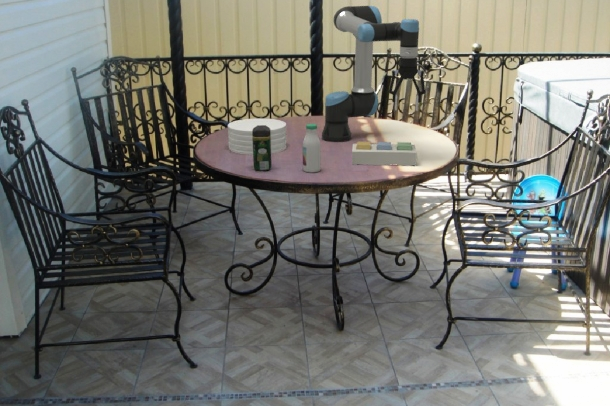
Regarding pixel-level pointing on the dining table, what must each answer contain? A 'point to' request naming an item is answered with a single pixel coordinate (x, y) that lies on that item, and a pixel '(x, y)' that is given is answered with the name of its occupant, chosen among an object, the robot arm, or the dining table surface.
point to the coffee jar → (261, 148)
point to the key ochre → (364, 145)
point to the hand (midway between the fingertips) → (406, 109)
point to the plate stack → (242, 135)
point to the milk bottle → (311, 150)
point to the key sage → (404, 146)
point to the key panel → (384, 156)
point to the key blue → (383, 145)
